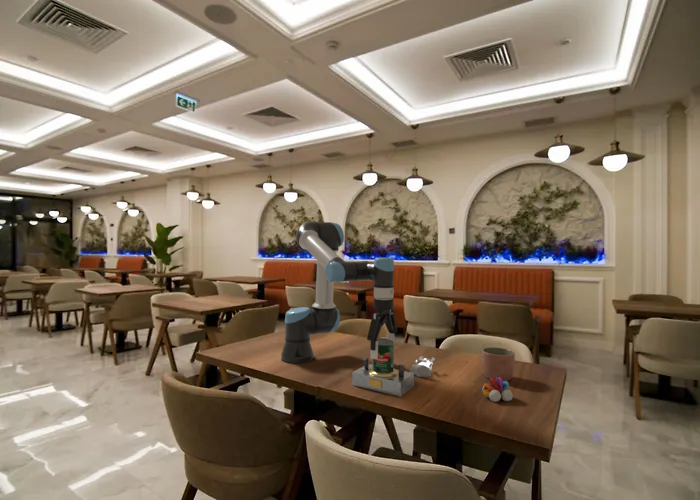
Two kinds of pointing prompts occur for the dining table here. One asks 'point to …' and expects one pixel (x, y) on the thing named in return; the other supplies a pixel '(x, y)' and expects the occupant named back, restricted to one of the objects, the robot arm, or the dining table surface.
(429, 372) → the figurine
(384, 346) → the canned tomato
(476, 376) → the dining table surface
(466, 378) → the dining table surface
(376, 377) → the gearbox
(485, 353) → the planter
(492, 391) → the rainbow wheeled toy
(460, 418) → the dining table surface
